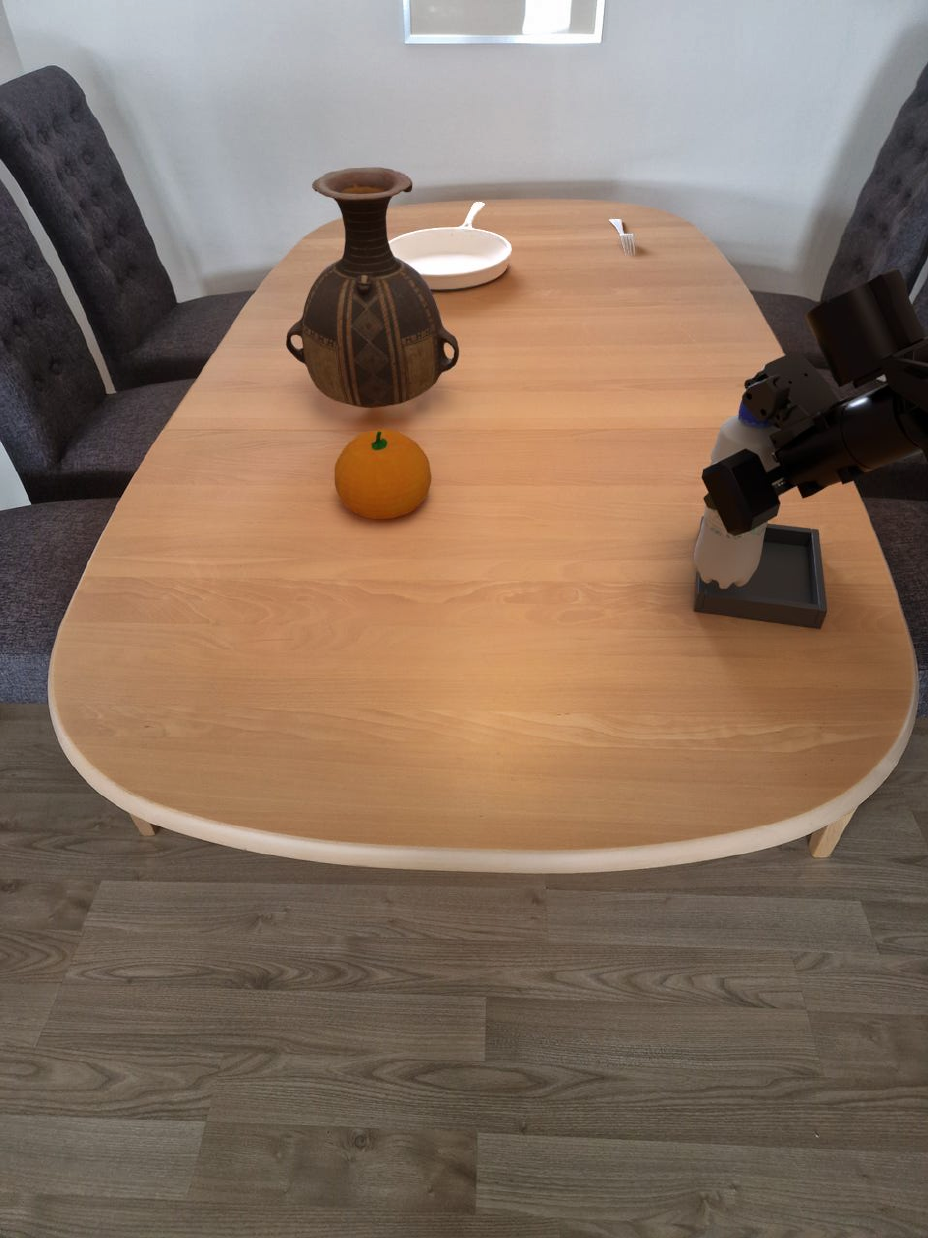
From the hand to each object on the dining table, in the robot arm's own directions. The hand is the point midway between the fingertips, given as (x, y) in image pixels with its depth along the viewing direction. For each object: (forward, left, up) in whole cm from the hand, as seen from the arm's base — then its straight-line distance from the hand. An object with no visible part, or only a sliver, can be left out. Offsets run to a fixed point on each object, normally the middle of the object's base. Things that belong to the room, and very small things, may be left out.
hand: (729, 489), depth 77 cm
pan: (+51, -91, -13) cm, 105 cm away
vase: (+47, -32, -13) cm, 58 cm away
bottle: (-1, +1, -10) cm, 10 cm away
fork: (+20, -107, -13) cm, 110 cm away
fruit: (+39, -9, -13) cm, 42 cm away
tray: (-5, -4, -13) cm, 15 cm away
